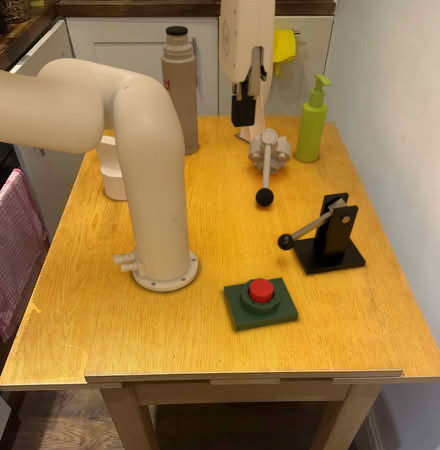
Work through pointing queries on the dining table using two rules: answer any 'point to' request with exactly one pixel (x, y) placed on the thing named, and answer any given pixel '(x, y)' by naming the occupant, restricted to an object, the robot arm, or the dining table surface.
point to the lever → (307, 227)
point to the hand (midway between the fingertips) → (242, 123)
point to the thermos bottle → (181, 82)
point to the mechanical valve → (268, 160)
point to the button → (261, 290)
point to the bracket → (331, 241)
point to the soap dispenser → (312, 122)
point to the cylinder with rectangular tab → (110, 168)
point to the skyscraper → (257, 112)
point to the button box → (259, 306)
